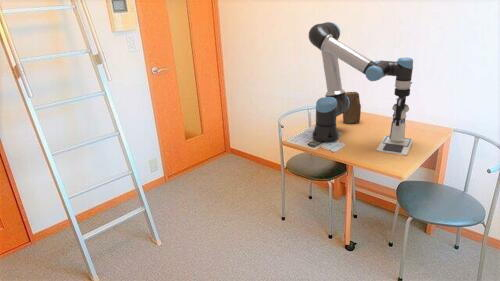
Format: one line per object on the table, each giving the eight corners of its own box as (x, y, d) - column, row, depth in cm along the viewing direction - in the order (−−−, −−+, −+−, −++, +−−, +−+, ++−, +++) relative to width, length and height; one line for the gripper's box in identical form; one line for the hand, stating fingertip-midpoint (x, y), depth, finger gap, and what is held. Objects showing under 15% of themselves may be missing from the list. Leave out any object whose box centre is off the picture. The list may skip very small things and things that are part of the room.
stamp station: (376, 151, 191) (376, 148, 190) (385, 137, 208) (385, 134, 208) (406, 155, 183) (407, 153, 183) (412, 140, 201) (413, 138, 201)
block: (342, 123, 233) (344, 93, 226) (342, 120, 240) (343, 91, 233) (360, 124, 231) (362, 93, 224) (359, 120, 238) (361, 91, 230)
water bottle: (407, 141, 195) (412, 97, 185) (390, 141, 196) (395, 97, 187) (404, 136, 202) (409, 93, 193) (388, 136, 204) (392, 93, 195)
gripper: (407, 93, 179) (402, 135, 187) (413, 84, 195) (408, 124, 203) (391, 91, 182) (387, 133, 191) (398, 83, 198) (394, 122, 207)
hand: (398, 128), depth 197 cm, fingers closed on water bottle, 7 cm apart
